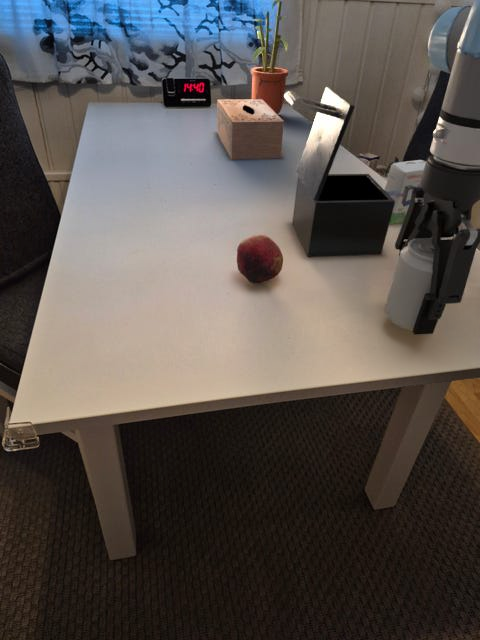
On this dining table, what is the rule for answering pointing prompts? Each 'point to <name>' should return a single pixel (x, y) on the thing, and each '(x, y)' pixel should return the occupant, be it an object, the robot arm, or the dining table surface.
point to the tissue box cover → (249, 129)
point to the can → (410, 282)
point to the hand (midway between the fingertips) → (410, 314)
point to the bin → (343, 216)
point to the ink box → (403, 186)
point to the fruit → (259, 259)
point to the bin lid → (321, 136)
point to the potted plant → (269, 68)
